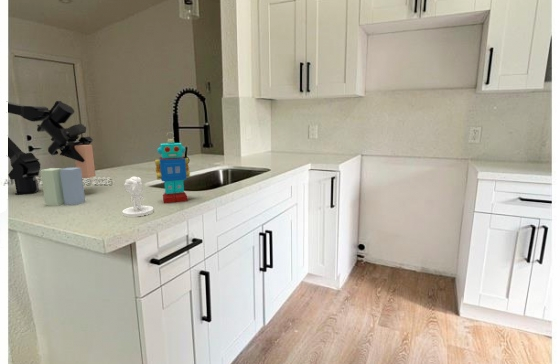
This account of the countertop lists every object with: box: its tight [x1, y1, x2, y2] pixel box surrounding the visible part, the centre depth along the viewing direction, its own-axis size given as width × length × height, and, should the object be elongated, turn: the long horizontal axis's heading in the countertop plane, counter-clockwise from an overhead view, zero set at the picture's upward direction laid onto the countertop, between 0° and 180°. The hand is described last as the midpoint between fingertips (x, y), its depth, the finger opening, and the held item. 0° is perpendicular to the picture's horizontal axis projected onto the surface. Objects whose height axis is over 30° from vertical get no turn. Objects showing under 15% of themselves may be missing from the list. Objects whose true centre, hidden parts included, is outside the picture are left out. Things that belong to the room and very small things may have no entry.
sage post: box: [39, 167, 65, 207], centre depth 114 cm, size 4×4×12 cm
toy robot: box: [154, 131, 191, 204], centre depth 117 cm, size 12×6×25 cm, turn 114°
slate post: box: [60, 167, 86, 206], centre depth 115 cm, size 4×4×12 cm
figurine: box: [122, 176, 154, 218], centre depth 104 cm, size 9×9×12 cm
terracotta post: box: [74, 144, 97, 179], centre depth 127 cm, size 4×4×12 cm
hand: (87, 160), depth 127 cm, fingers closed on terracotta post, 4 cm apart
